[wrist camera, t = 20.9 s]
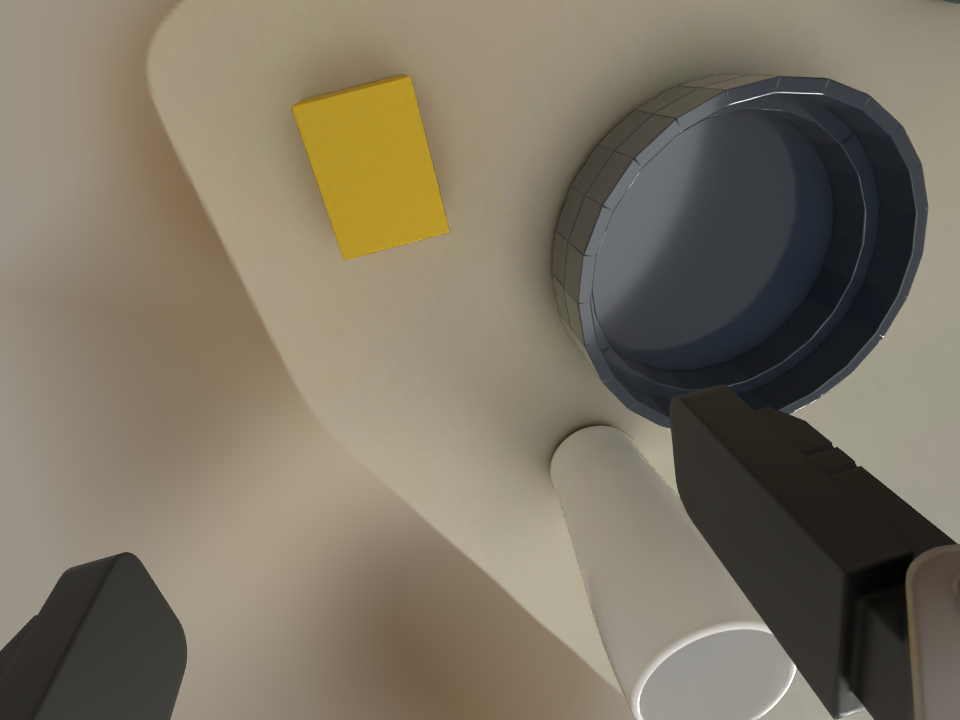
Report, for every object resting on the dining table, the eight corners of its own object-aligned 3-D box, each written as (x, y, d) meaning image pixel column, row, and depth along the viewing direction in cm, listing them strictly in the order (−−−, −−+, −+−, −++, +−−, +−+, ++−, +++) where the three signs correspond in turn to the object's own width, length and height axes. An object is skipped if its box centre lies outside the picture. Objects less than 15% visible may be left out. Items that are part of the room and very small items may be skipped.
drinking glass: (579, 523, 39) (689, 766, 25) (512, 462, 36) (595, 700, 23) (666, 457, 38) (829, 676, 24) (603, 388, 35) (748, 593, 21)
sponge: (346, 236, 29) (343, 260, 25) (301, 100, 26) (290, 106, 23) (440, 211, 29) (450, 232, 25) (405, 73, 26) (410, 75, 23)
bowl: (575, 418, 35) (604, 470, 31) (521, 123, 28) (550, 135, 23) (842, 343, 36) (909, 383, 32) (859, 35, 29) (949, 31, 24)
